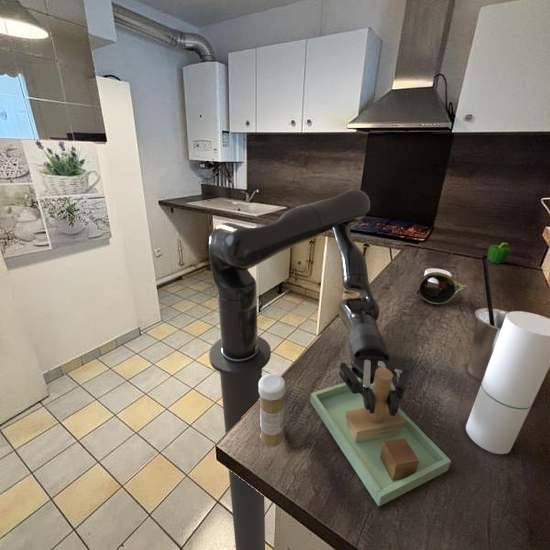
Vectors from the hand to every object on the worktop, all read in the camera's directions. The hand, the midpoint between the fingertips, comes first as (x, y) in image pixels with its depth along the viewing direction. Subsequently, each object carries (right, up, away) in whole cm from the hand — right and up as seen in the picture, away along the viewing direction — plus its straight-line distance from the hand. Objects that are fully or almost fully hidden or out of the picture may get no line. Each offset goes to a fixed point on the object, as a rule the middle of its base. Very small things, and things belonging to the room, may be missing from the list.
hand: (382, 410), depth 49 cm
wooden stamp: (+1, -7, +7) cm, 9 cm away
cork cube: (+2, -9, 0) cm, 10 cm away
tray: (0, -7, +7) cm, 10 cm away
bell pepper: (+90, +29, +93) cm, 132 cm away
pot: (+41, +14, +58) cm, 72 cm away
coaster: (+50, +21, +73) cm, 91 cm away
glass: (+32, -1, +22) cm, 38 cm away
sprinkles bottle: (-19, -8, +6) cm, 21 cm away
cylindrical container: (+22, -8, +6) cm, 24 cm away
